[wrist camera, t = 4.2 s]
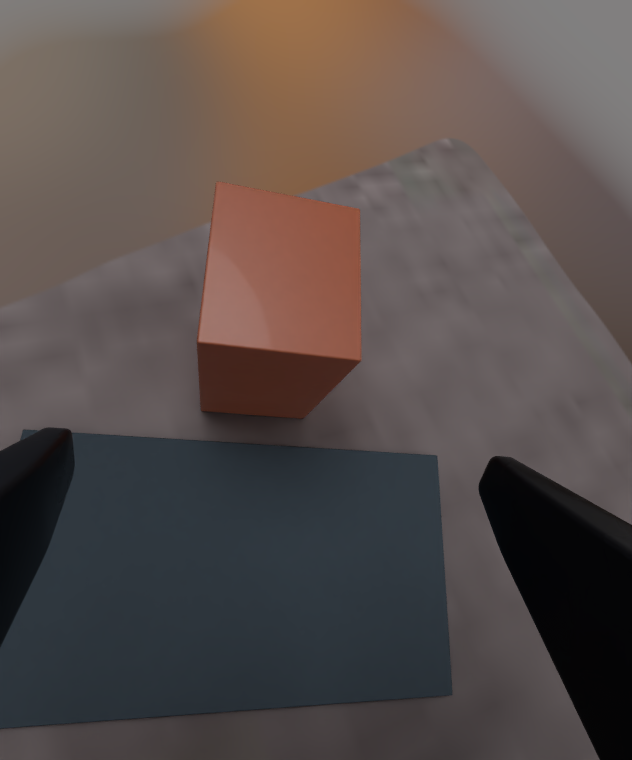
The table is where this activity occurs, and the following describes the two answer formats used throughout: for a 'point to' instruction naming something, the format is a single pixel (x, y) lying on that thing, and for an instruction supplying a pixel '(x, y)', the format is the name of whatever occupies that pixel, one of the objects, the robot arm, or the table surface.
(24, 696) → the mat
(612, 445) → the table surface
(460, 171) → the table surface
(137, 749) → the table surface
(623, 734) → the robot arm
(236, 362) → the toy box
